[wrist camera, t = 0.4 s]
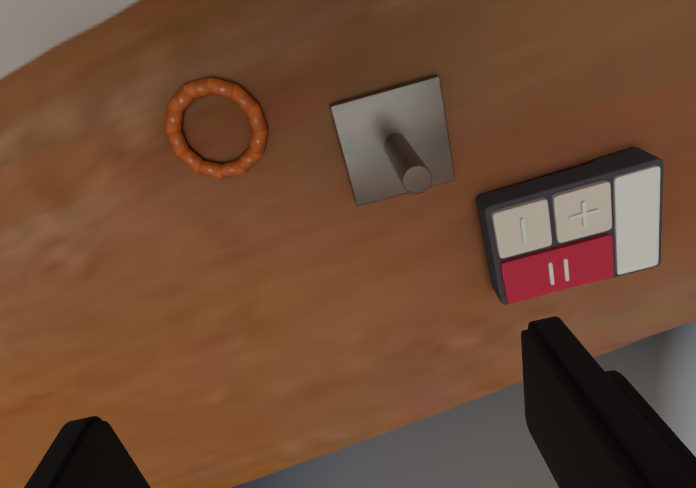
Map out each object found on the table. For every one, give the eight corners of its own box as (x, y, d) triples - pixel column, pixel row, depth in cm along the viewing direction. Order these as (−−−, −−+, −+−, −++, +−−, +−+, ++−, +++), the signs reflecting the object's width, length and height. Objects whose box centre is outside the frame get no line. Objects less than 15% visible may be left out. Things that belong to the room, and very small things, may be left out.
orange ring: (151, 93, 35) (146, 95, 34) (247, 65, 35) (244, 67, 34) (192, 185, 39) (188, 190, 38) (279, 161, 39) (278, 165, 38)
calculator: (486, 211, 38) (670, 160, 36) (473, 193, 42) (638, 145, 40) (504, 311, 43) (666, 270, 41) (490, 286, 47) (639, 248, 45)
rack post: (329, 104, 37) (334, 132, 28) (436, 74, 36) (475, 93, 27) (356, 202, 41) (367, 254, 32) (452, 176, 40) (490, 222, 31)
